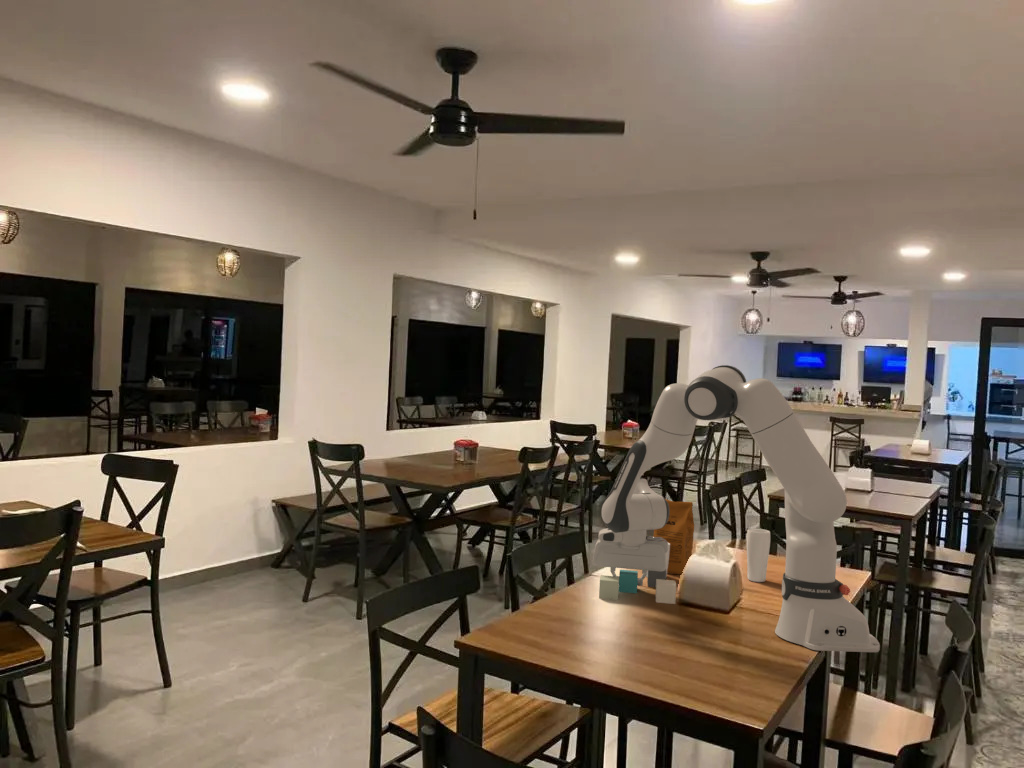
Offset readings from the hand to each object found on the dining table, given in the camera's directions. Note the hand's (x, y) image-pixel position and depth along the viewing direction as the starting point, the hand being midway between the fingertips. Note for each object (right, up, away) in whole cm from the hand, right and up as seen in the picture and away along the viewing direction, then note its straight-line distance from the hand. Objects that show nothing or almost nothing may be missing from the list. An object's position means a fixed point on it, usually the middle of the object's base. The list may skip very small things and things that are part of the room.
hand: (628, 584), depth 212 cm
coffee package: (+17, -2, +25) cm, 30 cm away
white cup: (+11, -2, +16) cm, 20 cm away
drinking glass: (+41, -3, +17) cm, 44 cm away
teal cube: (0, -2, 0) cm, 2 cm away
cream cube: (+9, -2, -9) cm, 12 cm away
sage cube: (-6, -2, -7) cm, 10 cm away
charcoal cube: (+9, -2, +7) cm, 11 cm away
